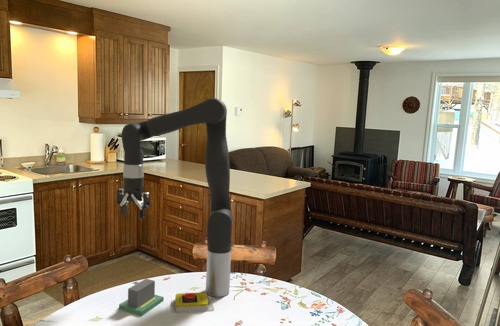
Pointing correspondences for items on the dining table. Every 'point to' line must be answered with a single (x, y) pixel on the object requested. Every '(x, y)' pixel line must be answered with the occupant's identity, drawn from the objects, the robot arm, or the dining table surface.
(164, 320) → the dining table surface
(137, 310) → the header board
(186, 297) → the emergency button
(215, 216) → the robot arm
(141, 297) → the block
